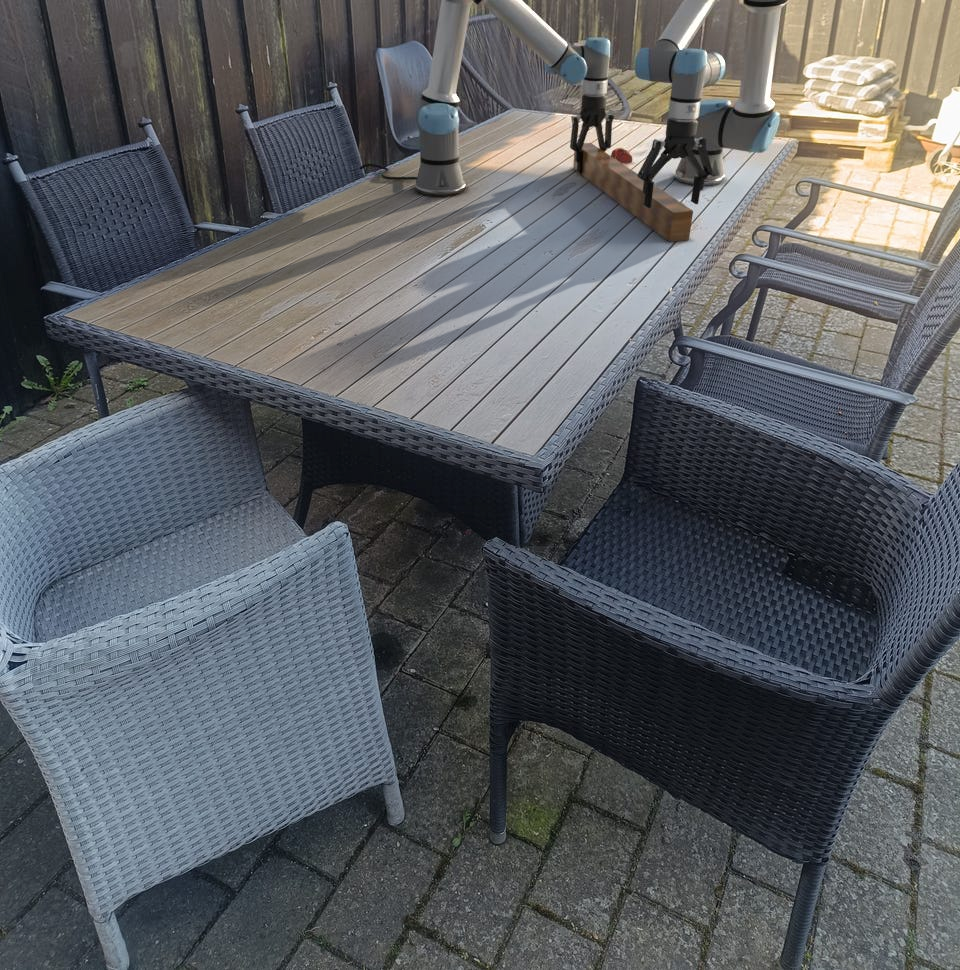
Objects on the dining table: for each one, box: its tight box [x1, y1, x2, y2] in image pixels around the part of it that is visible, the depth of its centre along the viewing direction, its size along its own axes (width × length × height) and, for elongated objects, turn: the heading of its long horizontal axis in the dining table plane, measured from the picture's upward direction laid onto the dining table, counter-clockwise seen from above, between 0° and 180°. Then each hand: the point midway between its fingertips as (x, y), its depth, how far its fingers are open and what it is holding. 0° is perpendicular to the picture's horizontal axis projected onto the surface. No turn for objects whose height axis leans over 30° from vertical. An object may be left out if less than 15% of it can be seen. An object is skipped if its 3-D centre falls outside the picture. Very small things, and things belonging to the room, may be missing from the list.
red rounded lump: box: [610, 147, 633, 164], centre depth 283 cm, size 6×4×8 cm
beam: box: [572, 142, 694, 243], centre depth 248 cm, size 73×6×8 cm, turn 15°
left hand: (588, 171), depth 273 cm, fingers closed on beam, 6 cm apart
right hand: (671, 204), depth 222 cm, fingers open, 13 cm apart
